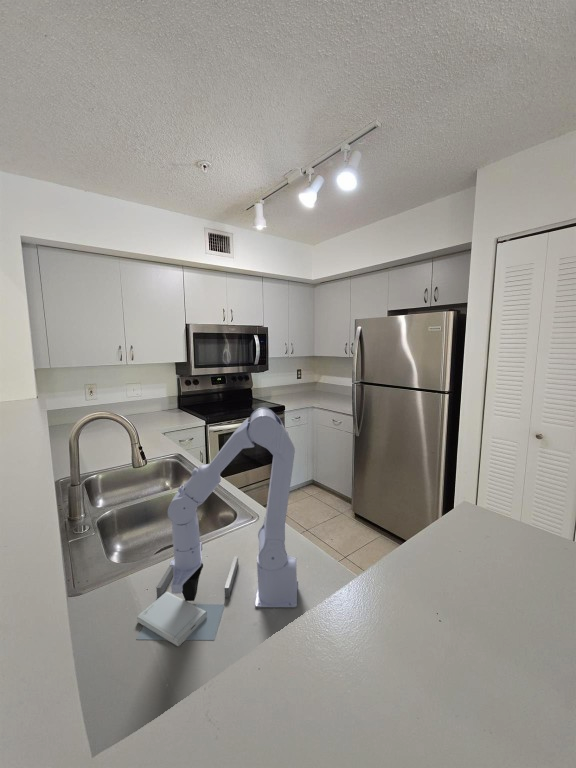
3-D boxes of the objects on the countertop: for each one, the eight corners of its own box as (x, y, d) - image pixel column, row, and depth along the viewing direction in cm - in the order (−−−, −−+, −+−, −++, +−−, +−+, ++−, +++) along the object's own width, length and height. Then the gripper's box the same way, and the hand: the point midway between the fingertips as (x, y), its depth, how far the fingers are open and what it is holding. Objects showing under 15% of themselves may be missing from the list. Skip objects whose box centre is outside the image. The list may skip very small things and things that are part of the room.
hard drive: (136, 616, 69) (177, 640, 63) (167, 590, 76) (206, 609, 70) (137, 623, 70) (178, 647, 63) (168, 596, 77) (207, 616, 71)
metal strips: (238, 564, 87) (238, 556, 87) (229, 597, 76) (228, 587, 76) (175, 564, 88) (175, 556, 88) (157, 597, 76) (156, 587, 76)
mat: (224, 605, 74) (224, 604, 74) (214, 641, 65) (214, 640, 65) (155, 605, 74) (155, 604, 74) (136, 640, 66) (136, 639, 66)
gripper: (181, 525, 80) (184, 576, 82) (155, 565, 66) (160, 625, 67) (209, 525, 80) (212, 576, 82) (189, 565, 66) (193, 625, 67)
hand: (190, 598), depth 75 cm, fingers closed
